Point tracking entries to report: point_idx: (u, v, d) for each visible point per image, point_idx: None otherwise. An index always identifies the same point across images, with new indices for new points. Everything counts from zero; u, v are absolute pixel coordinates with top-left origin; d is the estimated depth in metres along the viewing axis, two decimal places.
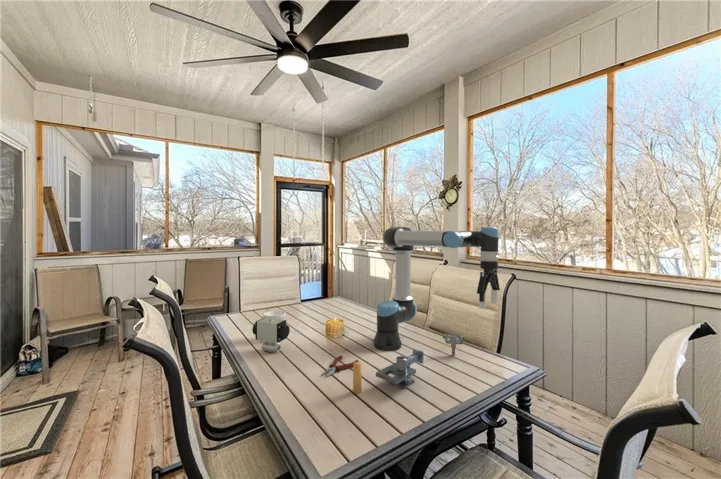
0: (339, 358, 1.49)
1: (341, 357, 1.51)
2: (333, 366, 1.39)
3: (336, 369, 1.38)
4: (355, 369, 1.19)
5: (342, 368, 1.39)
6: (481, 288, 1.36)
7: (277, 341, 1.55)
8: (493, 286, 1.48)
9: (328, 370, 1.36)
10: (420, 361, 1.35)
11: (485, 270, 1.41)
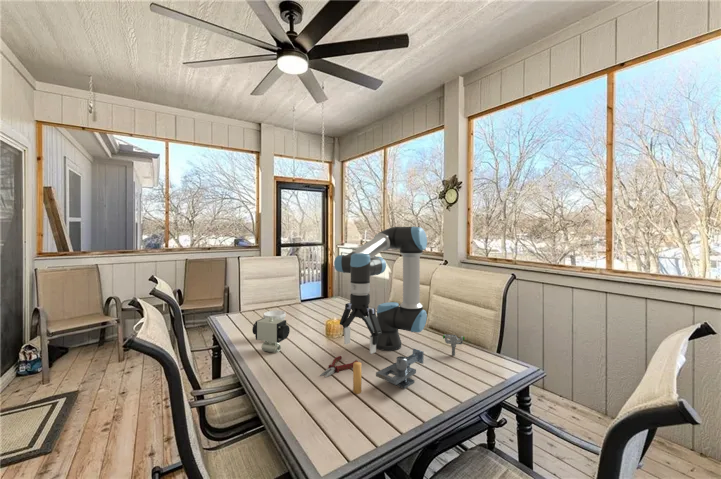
0: (338, 358, 1.49)
1: (340, 357, 1.50)
2: (332, 366, 1.39)
3: (335, 369, 1.37)
4: (355, 369, 1.19)
5: (341, 368, 1.39)
6: None
7: (277, 341, 1.55)
8: None
9: (327, 370, 1.35)
10: (420, 361, 1.35)
11: None
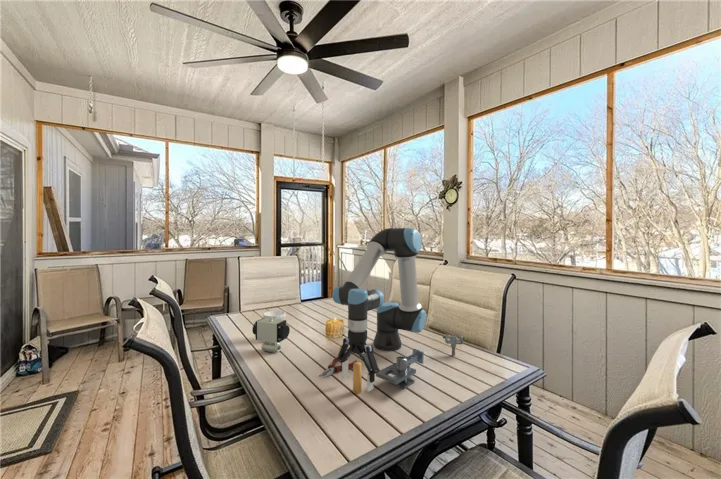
0: (338, 359, 1.49)
1: None
2: (332, 367, 1.38)
3: (334, 370, 1.37)
4: (355, 369, 1.19)
5: (341, 369, 1.38)
6: None
7: (277, 341, 1.55)
8: None
9: (326, 371, 1.35)
10: (420, 361, 1.35)
11: None
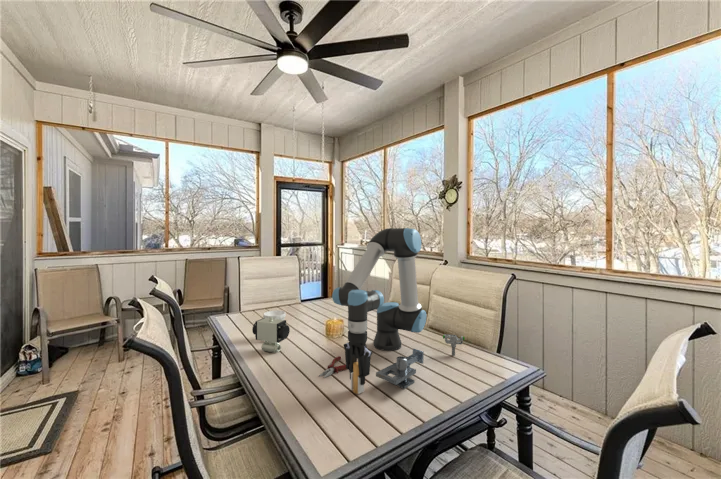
0: (337, 359, 1.48)
1: (339, 358, 1.50)
2: (331, 367, 1.38)
3: (334, 370, 1.37)
4: (355, 369, 1.19)
5: (340, 369, 1.38)
6: None
7: (277, 341, 1.55)
8: None
9: (326, 371, 1.35)
10: (420, 361, 1.35)
11: None
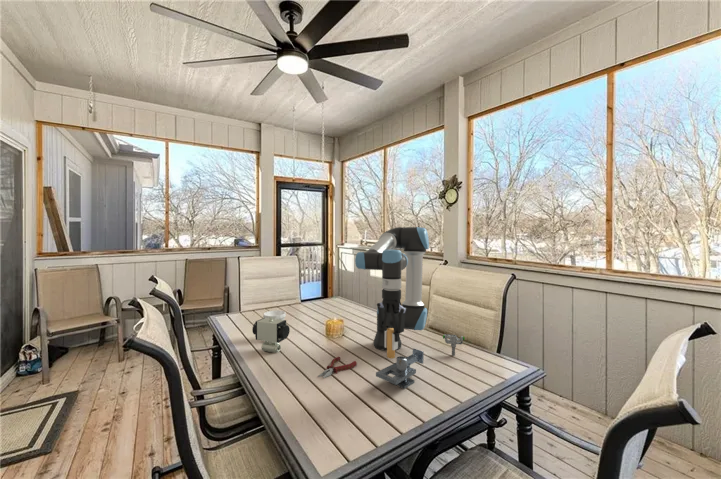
0: (337, 359, 1.48)
1: (339, 358, 1.49)
2: (330, 367, 1.38)
3: (333, 370, 1.37)
4: (389, 334, 1.21)
5: (339, 369, 1.38)
6: None
7: (277, 341, 1.55)
8: None
9: (325, 371, 1.35)
10: (420, 361, 1.35)
11: None
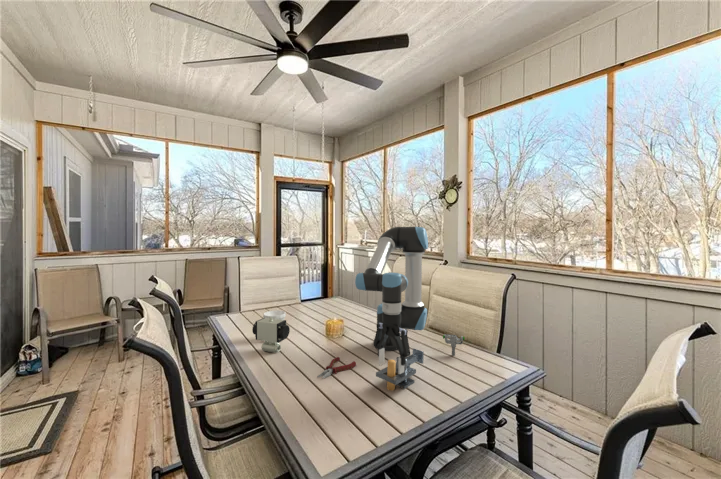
0: (336, 359, 1.48)
1: (338, 358, 1.49)
2: (330, 368, 1.37)
3: (333, 371, 1.36)
4: (389, 367, 1.21)
5: (339, 370, 1.37)
6: None
7: (277, 341, 1.55)
8: None
9: (324, 372, 1.34)
10: (420, 361, 1.35)
11: None
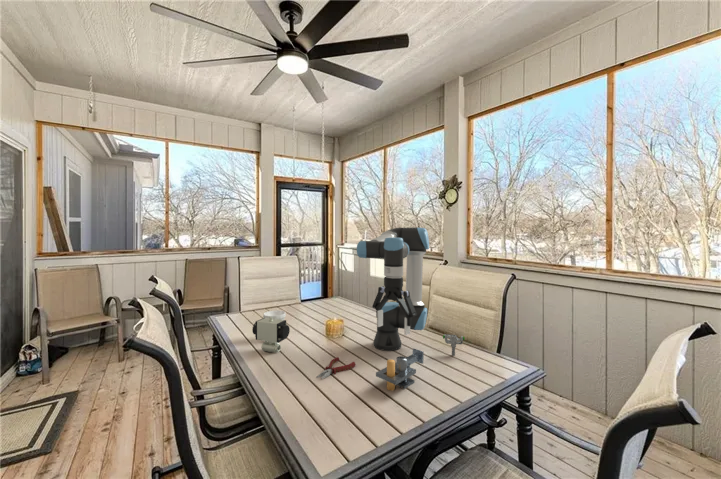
0: (335, 360, 1.47)
1: (338, 359, 1.49)
2: (329, 368, 1.37)
3: (332, 371, 1.36)
4: (389, 366, 1.22)
5: (338, 370, 1.37)
6: None
7: (277, 341, 1.55)
8: None
9: (324, 372, 1.34)
10: (420, 361, 1.35)
11: None
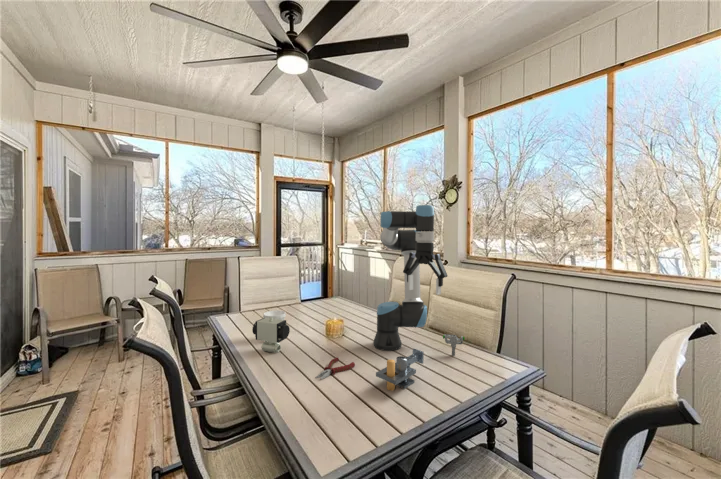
0: (335, 360, 1.47)
1: (337, 359, 1.48)
2: (328, 368, 1.37)
3: (331, 371, 1.35)
4: (389, 366, 1.22)
5: (337, 370, 1.37)
6: None
7: (277, 341, 1.55)
8: None
9: (323, 372, 1.34)
10: (420, 361, 1.35)
11: None
